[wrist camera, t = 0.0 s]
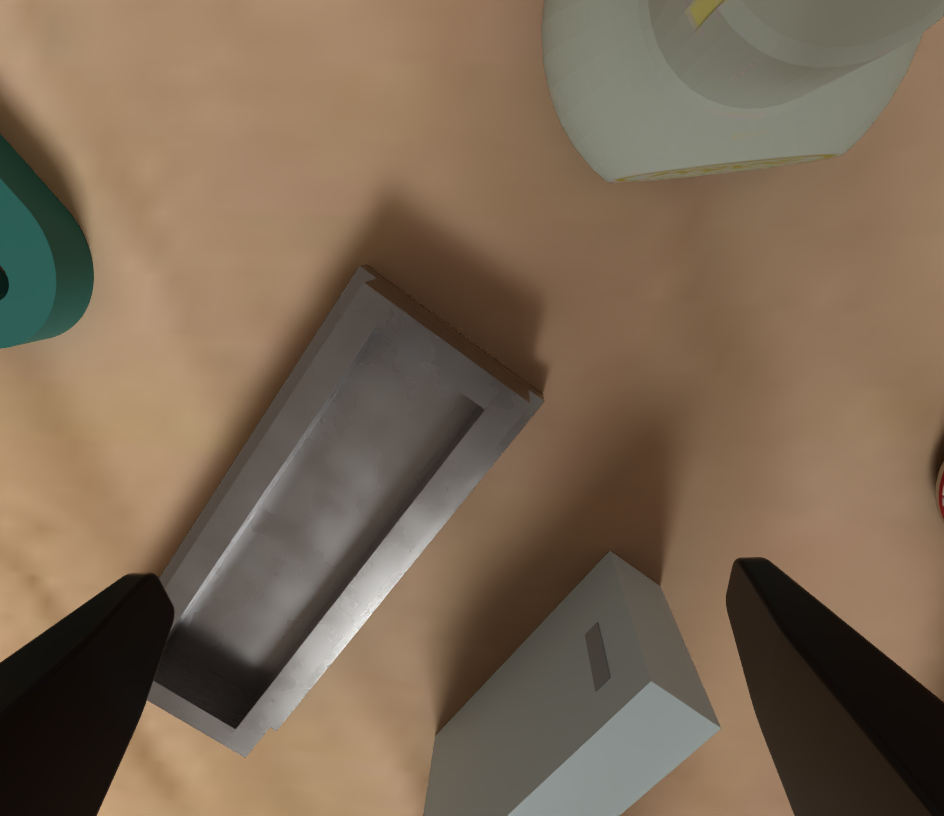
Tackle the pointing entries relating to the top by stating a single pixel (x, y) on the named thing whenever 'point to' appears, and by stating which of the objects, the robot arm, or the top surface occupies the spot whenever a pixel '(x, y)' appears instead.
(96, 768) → the robot arm
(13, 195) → the bracket
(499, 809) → the door panel
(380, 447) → the floor track
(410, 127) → the top surface
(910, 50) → the air freshener
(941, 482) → the soda can
